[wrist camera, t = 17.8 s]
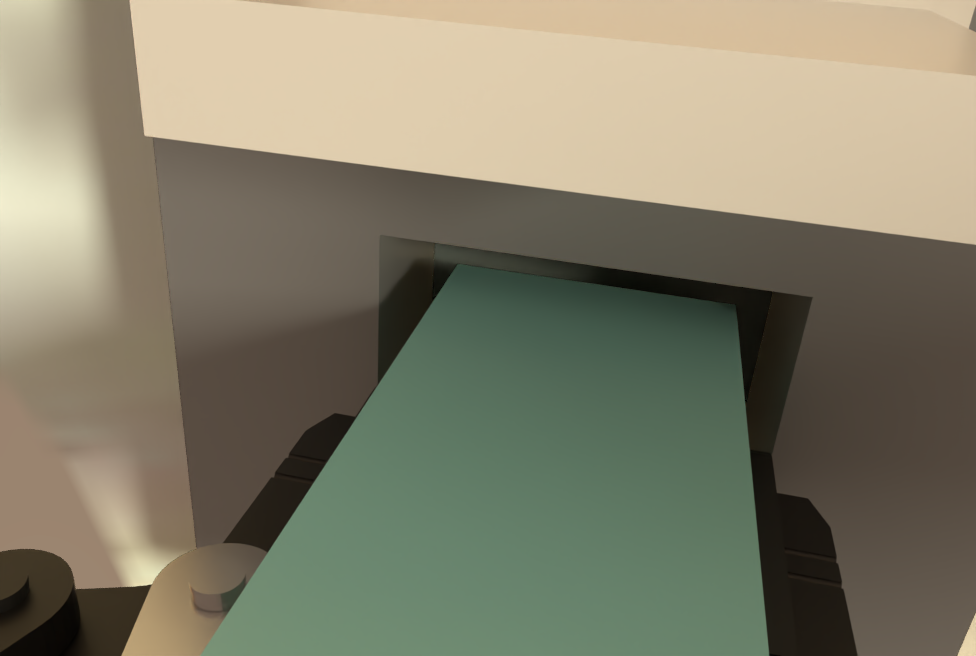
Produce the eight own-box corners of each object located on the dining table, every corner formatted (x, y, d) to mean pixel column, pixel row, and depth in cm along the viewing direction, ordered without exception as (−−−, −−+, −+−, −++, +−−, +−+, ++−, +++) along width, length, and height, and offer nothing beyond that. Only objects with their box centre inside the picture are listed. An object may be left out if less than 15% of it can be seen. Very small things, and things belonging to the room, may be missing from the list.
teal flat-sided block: (686, 529, 14) (670, 1585, 5) (444, 483, 15) (69, 1359, 6) (735, 305, 12) (832, 1340, 3) (458, 263, 13) (-62, 1050, 4)
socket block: (858, 671, 17) (888, 814, 14) (276, 551, 19) (208, 657, 16) (1322, -603, 9) (1590, -819, 6) (215, -591, 11) (58, -752, 8)
